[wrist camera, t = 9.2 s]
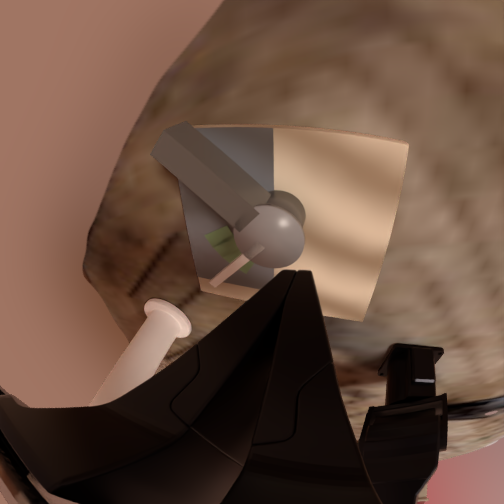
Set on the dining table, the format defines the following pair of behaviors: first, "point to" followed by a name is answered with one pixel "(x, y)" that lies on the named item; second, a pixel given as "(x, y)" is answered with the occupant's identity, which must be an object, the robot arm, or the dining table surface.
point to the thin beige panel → (307, 209)
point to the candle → (144, 350)
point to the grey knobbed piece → (235, 200)
